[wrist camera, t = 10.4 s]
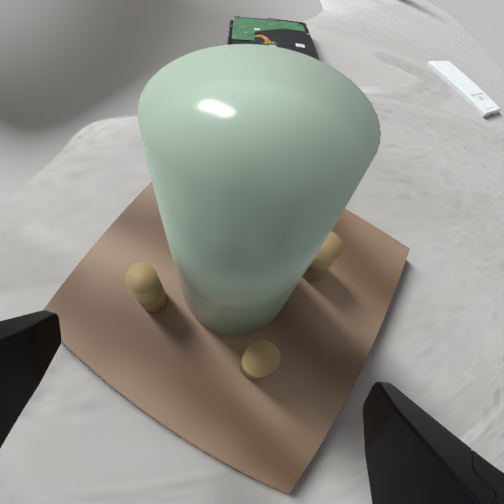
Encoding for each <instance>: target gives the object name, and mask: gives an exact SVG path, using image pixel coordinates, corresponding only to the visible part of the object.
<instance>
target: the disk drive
mask: <svg viewBox="0 0 504 504" xmlns="http://www.w3.org/2000/svg"><path fill="white" fill-rule="evenodd" d="M229 29H230V30H229V37H228V43H227V45H231V44H258V45H267V46H275V47H280V48H285V49H289V50H292V51H296V52H299V53H302V54H305V55H308V56H310V57H313V58H315V59H317V60H319V58H318V56H317V53H316V50H315V47H314V45H313V42H312V39H311V36H310V34H309V31H308V28H307V27H306V24H305V23H302V22H294V21H287V20H277V19H272V18H268V19H260V18H246V17H245V18H244V17H239V16H235V18H232V19H231V21H230V27H229Z"/></svg>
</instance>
